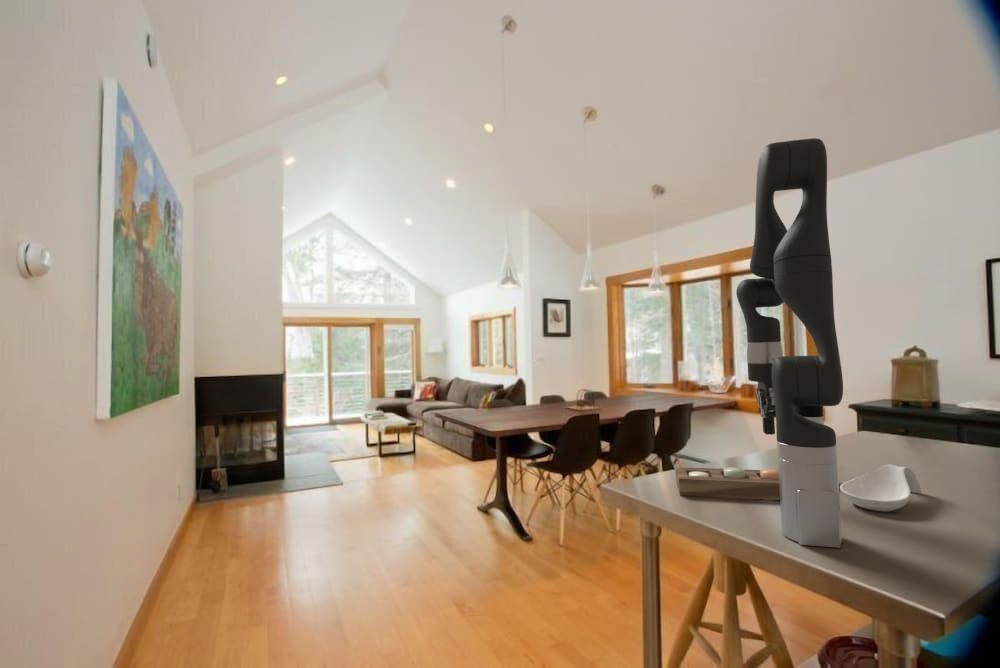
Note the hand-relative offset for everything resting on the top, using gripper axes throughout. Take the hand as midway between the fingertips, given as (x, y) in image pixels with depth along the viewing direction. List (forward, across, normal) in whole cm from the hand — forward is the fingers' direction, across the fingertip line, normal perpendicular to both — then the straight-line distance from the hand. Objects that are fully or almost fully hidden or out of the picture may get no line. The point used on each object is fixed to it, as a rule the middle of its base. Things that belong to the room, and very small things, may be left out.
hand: (769, 433), depth 111 cm
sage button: (+12, 0, +8) cm, 14 cm away
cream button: (+13, 0, +16) cm, 21 cm away
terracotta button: (+12, 0, 0) cm, 12 cm away
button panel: (+14, 0, +8) cm, 16 cm away
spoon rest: (+15, -2, -22) cm, 26 cm away
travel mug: (+14, +12, -12) cm, 22 cm away
